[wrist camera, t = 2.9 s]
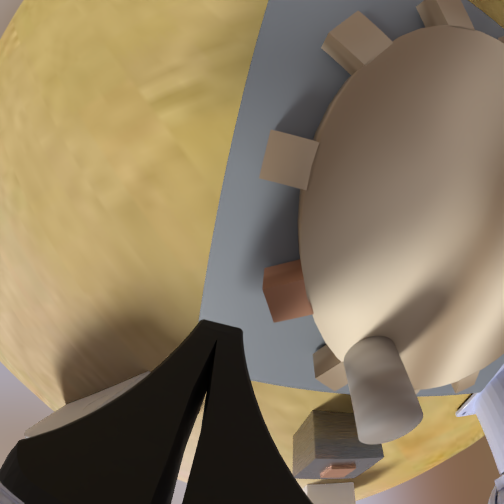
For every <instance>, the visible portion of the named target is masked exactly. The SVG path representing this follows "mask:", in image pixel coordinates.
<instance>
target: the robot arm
mask: <svg viewBox="0 0 504 504" xmlns="http://www.w3.org/2000/svg"><path fill="white" fill-rule="evenodd" d="M206 391H207V392H206ZM205 394H206V399H205V406H204V413H203V420H202V427H201V433H200V437H199V441H198V444H197V448H196V452H195V456H194V460H193V464H192V468H191V471H190V475H189V479H188V483H187V487H186V491H185V495H184V498H183V502H182V504H313V503H312V502H311V500H310V499H309V498H308V496H307V495H306V494H305V492H304V491H303V490H302V488H301V487H300V485H299V484H298V483H297V481H296V479H295V478H294V476H293V475H292V473H291V471H290V470H289V468H288V467H287V465H286V463H285V462H284V460H283V458H282V457H281V455H280V453H279V451H278V449H277V447H276V445H275V443H274V441H273V439H272V437H271V435H270V433H269V431H268V428H267V426H266V424H265V422H264V419H263V417H262V414H261V411H260V409H259V406H258V403H257V400H256V397H255V394H254V391H253V387H252V384H251V380H250V376H249V372H248V368H247V363H246V357H245V351H244V343H243V331H242V329H241V328H238V327H233V326H229V325H225V324H221V323H217V322H213V321H209V320H205V319H202V320H200V321H199V323H198V324H197V325H196V327H195V328H194V329H193V331H192V332H191V333H190V334H189V335H188V337H187V338H186V339H185V340H184V341H183V342H182V343H181V344H180V345H179V346H178V347H177V348H176V349H175V350H174V351H173V352H172V353H171V354H170V355H169V356H168V357H167V358H166V359H165V360H164V361H163V362H162V363H161V364H160V365H159V366H157V367H156V368H155V369H154V370H153V371H152V372H151V373H149V374H148V375H147V376H146V377H145V378H143V379H142V380H141V381H140V382H138V383H137V384H136V385H134V386H133V387H132V388H130V389H129V390H127V391H126V392H124V393H123V394H122V395H120V396H119V397H117V398H115V399H114V400H112V401H111V402H109V403H107V404H106V405H104V406H102V407H101V408H99V409H97V410H95V411H93V412H92V413H90V414H88V415H86V416H83V417H81V418H79V419H77V420H75V421H73V422H71V423H68V424H66V425H64V426H62V427H59V428H57V429H54V430H51V431H48V432H45V433H42V434H39V435H36V436H32V437H29V438H26V439H22V440H19V441H18V443H17V444H16V446H15V447H14V448H13V449H12V450H11V452H10V453H9V455H8V456H7V458H6V460H5V462H4V464H3V465H2V467H1V469H0V504H171V500H172V497H173V493H174V489H175V485H176V480H177V477H178V473H179V469H180V465H181V461H182V458H183V454H184V451H185V447H186V444H187V442H188V439H189V436H190V434H191V431H192V428H193V426H194V423H195V421H196V418H197V415H198V413H199V410H200V407H201V405H202V402H203V399H204V397H205ZM472 414H476V415H477V417H478V420H479V422H480V424H481V426H482V429H483V431H484V433H485V436H486V438H487V440H488V443H489V446H490V448H491V451H492V453H493V456H494V459H495V462H496V464H497V467H498V470H499V473H500V475H502V476H500V477H499V478H498V479H496V480H495V484H496V485H495V487H494V488H493V490H492V493H491V495H490V498H489V502H488V504H504V364H503V365H502V366H501V368H500V369H499V370H498V372H497V373H496V374H495V376H494V377H493V378H492V379H491V381H490V382H489V383H488V384H487V385H486V387H485V388H484V389H483V390H482V391H481V392H479V393H473V394H472V396H471V397H470V398H469V399H468V400H467V401H466V402H465V403H464V404H463V405H462V406H461V408H460V409H459V410H458V411H457V412H456V416H457V417H461V416H466V415H472Z"/></svg>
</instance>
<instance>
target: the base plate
mask: <svg viewBox="0 0 504 504" xmlns="http://www.w3.org/2000/svg"><path fill="white" fill-rule="evenodd" d="M423 1H424V0H269V1H268V4H267V8H266V11H265V14H264V18H263V21H262V25H261V28H260V32H259V35H258V39H257V42H256V46H255V50H254V53H253V57H252V61H251V65H250V69H249V72H248V76H247V80H246V84H245V88H244V92H243V96H242V100H241V105H240V109H239V113H238V117H237V121H236V126H235V130H234V135H233V139H232V143H231V148H230V153H229V157H228V162H227V166H226V171H225V176H224V181H223V186H222V191H221V196H220V201H219V206H218V211H217V216H216V221H215V227H214V232H213V238H212V243H211V249H210V255H209V260H208V266H207V272H206V278H205V284H204V290H203V297H202V303H201V310H200V316H199V321H200V320H202V319H205V320H209V321H213V322H217V323H221V324H225V325H229V326H233V327H238V328H241V329H242V331H243V343H244V351H245V357H246V363H247V368H248V372H249V376H250V380H252V381H257V382H262V383H268V384H273V385H279V386H285V387H292V388H299V389H306V390H314V391H322V392H331V393H342V394H350V391H349V386H348V384H347V385H345V386H343V387H342V388H340V389H338V390H337V391H333V390H332V389H330V388H329V387H327V386H326V385H324V384H323V383H321V382H320V381H318V380H317V379H315V372H314V363H313V353H315V352H316V351H318V350H319V349H321V348H322V347H324V346H325V345H327V344H326V343H325V341H324V339H323V337H322V335H321V333H320V331H319V329H318V327H317V325H316V323H315V321H314V318H313V315H308V316H303V317H299V318H294V319H290V320H285V321H280V322H275V323H274V322H273V319H272V316H271V313H270V310H269V307H268V304H267V302H266V299H265V296H264V293H263V290H262V287H263V277H264V268H266V267H271V266H275V265H279V264H283V263H287V262H291V261H295V260H299V259H300V254H299V243H298V223H297V222H298V209H299V195H300V189H299V188H295V187H292V186H288V185H284V184H280V183H276V182H272V181H268V180H264V179H260V178H259V176H260V172H261V168H262V163H263V159H264V155H265V151H266V147H267V143H268V139H269V134H270V130H275V131H279V132H283V133H287V134H291V135H295V136H299V137H302V138H306V139H310V140H313V138H314V135H315V132H316V130H317V128H318V126H319V124H320V122H321V120H322V118H323V116H324V114H325V112H326V110H327V108H328V106H329V104H330V103H331V101H332V100H333V98H334V97H335V95H336V94H337V92H338V91H339V90H340V88H341V87H342V85H343V84H344V82H345V81H346V80H347V79H348V78H349V77H350V76H351V75H350V74H349V73H348V72H347V71H346V70H345V69H344V68H343V67H342V66H341V65H340V64H339V63H337V62H336V61H335V60H334V59H333V58H332V57H331V56H330V55H329V54H327V53H326V52H325V51H324V50H323V49H322V48H321V47H322V45H323V43H324V41H325V39H326V37H327V35H328V33H329V32H330V31H332V30H333V29H334V28H335V27H337V26H338V25H339V24H341V23H342V22H343V21H345V20H346V19H347V18H349V17H350V16H351V15H353V14H354V13H355V12H357V11H360V12H361V13H362V14H363V15H364V16H366V17H367V18H368V19H369V20H370V21H371V22H372V23H373V24H375V25H376V26H377V27H378V28H379V29H380V30H381V31H382V32H383V33H384V34H385V35H386V36H387V37H388V38H389V39H390V40H391V41H394V40H395V39H397V38H398V37H400V36H403V35H405V34H408V33H410V32H413V31H415V30H418V29H420V28H425V25H424V23H423V21H422V19H421V17H420V15H419V13H418V11H417V9H416V6H418V5H419V4H420V3H421V2H423ZM461 2H462V4H463V6H464V8H465V10H466V12H467V14H468V16H469V18H470V20H471V22H472V24H473V27H474V29H475V30H477V31H481V32H483V33H485V34H487V35H489V36H491V37H493V38H495V39H497V40H498V38H499V37H503V36H504V29H503V28H502V27H501V26H500V25H498V24H497V23H496V22H495V21H494V20H493V19H491V18H490V17H489V16H488V15H486V14H485V13H484V12H483V11H481V10H480V9H479V8H477V7H476V6H475V5H473V4H472V3H471V2H469V1H468V0H461ZM503 364H504V354H503V355H502V356H500V357H499V358H498V359H497V360H495V361H494V362H492V363H491V364H489V365H488V366H486V367H485V368H483V369H481V370H480V371H479V374H478V377H477V379H476V382H475V384H474V385H473V386H471V387H469V388H467V389H465V390H462V391H460V392H458V393H455V391H454V389H453V387H452V385H451V384H447V385H444V386H441V387H436V388H430V389H422V390H420V391H419V392H418V393H417V394H416V396H443V395H458V394H469V393H479V392H481V391H482V390H483V389H484V388H485V387H486V385H487V384H488V383H489V382H490V381H491V379H492V378H493V377H494V376H495V374H496V373H497V372H498V370H499V369H500V368H501V366H502V365H503Z"/></svg>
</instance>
